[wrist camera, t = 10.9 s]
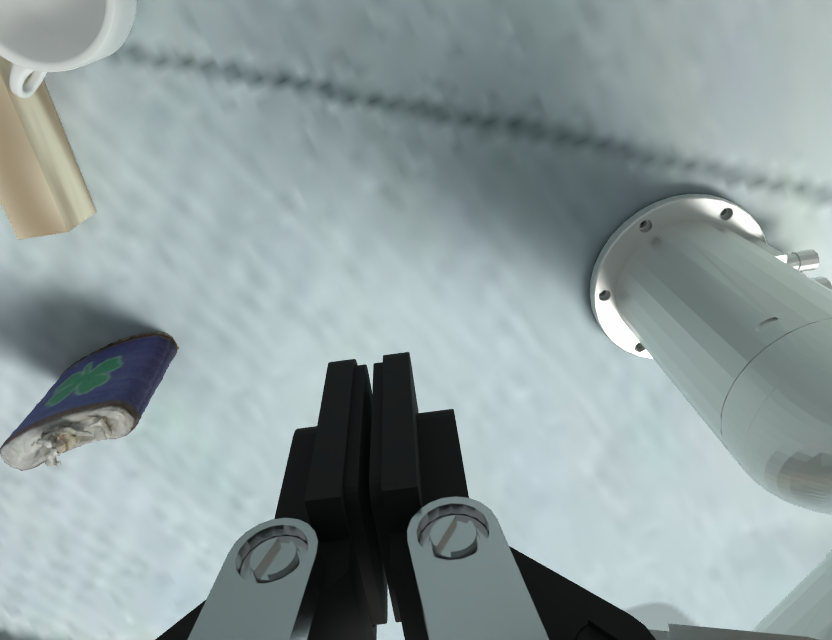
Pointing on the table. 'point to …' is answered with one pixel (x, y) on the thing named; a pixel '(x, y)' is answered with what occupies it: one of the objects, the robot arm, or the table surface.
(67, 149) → the wooden bar
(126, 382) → the clover hip flask
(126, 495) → the table surface
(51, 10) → the teacup
